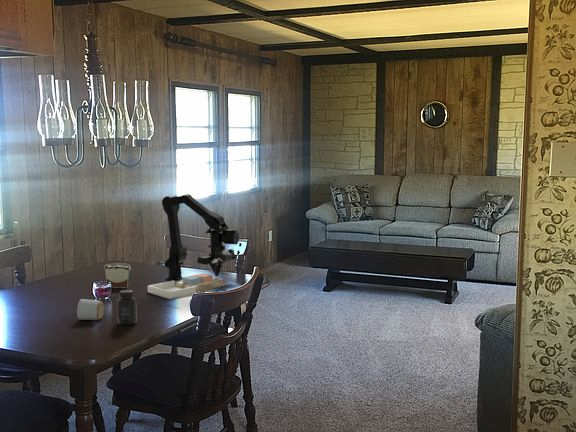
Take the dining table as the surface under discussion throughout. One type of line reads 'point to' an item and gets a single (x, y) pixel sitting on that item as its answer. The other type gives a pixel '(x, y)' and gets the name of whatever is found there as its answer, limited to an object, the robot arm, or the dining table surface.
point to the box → (170, 290)
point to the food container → (117, 274)
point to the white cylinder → (90, 309)
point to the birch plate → (203, 284)
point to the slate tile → (192, 280)
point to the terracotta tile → (205, 277)
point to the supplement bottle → (127, 308)
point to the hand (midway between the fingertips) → (216, 276)
